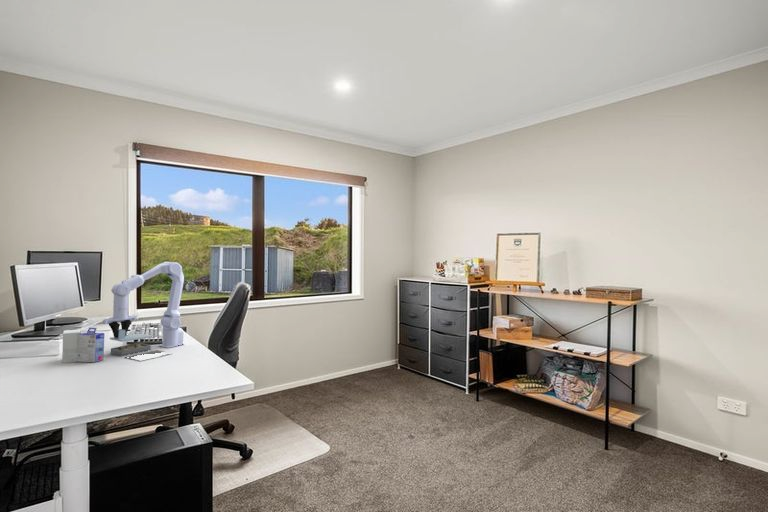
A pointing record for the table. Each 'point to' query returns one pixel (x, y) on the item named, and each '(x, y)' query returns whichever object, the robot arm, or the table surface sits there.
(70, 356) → the small box
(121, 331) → the lid
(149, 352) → the mat
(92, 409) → the table surface
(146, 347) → the tub
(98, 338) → the ink cartridge box
